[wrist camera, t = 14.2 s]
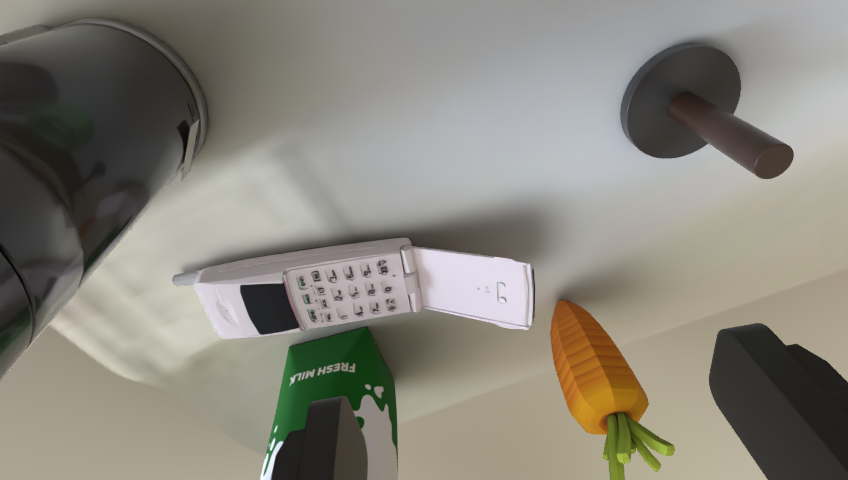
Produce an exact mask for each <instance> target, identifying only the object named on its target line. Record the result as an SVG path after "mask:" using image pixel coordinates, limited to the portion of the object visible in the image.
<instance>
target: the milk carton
mask: <svg viewBox="0 0 848 480" xmlns="http://www.w3.org/2000/svg"><path fill="white" fill-rule="evenodd" d="M340 396H346V397H347V398H348V400H349V402H350V405H351V407H352V409H353V412H354V414H355V416H356V419H357V421H358V423H359V426H360V428H361V430H362V433H363V435H364V438H365V442H366V447H367V455H368V474H367V480H398V451H397V410H396V397H395V384H394V380H393V378H392V376H391V374H390V372H389V370H388V368H387V366H386V363H385V361H384V359H383V357H382V355H381V353H380V351H379V349H378V347H377V345H376V343H375V341H374V339H373V337H372V335H371V333H370V331H369V329H368V327H364V328H360V329H356V330H353V331H349V332H345V333H341V334H337V335H333V336H330V337H326V338H322V339H318V340H314V341H311V342H307V343H303V344H299V345H295V346H291V347H289V350H288V355H287V360H286V365H285V370H284V375H283V380H282V384H281V389H280V394H279V399H278V405H277V409H276V414H275V418H274V422H273V427H272V431H271V435H270V439H269V444H268V448H267V452H266V457H265V461H264V465H263V470H262V474H261V478H260V480H271V475H272V471H273V466H274V461H275V457H276V454H277V452H278V451H279V449H280V447H281V446H282V444H283V442H284V441H285V439H286V437H287V436H288V434H289V432H290V431H296V430H302V429H305V425H306V419H307V413H308V408H309V405H310V403H311V402H313V401H318V400H323V399H329V398H334V397H340Z"/></svg>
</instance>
